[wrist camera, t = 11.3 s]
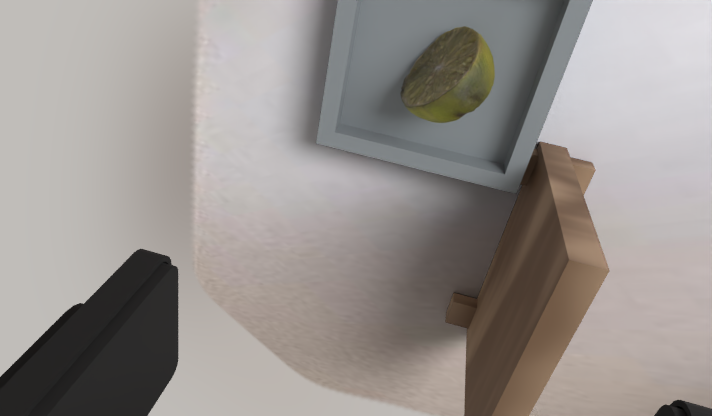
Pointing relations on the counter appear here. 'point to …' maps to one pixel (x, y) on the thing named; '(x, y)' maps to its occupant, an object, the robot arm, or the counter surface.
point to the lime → (450, 77)
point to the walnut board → (531, 288)
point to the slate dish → (475, 129)
